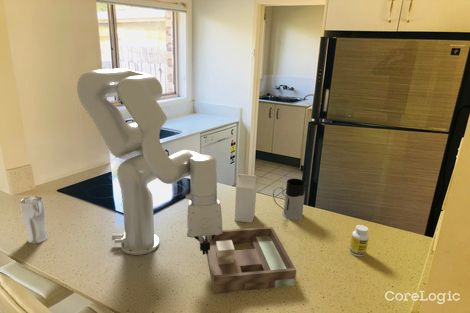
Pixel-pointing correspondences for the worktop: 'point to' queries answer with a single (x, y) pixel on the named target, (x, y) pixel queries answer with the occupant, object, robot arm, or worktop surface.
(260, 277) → the box
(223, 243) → the block
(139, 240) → the robot arm
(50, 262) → the worktop surface
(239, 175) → the milk carton
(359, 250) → the supplement bottle
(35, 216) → the beer glass
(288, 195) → the white and black mug
